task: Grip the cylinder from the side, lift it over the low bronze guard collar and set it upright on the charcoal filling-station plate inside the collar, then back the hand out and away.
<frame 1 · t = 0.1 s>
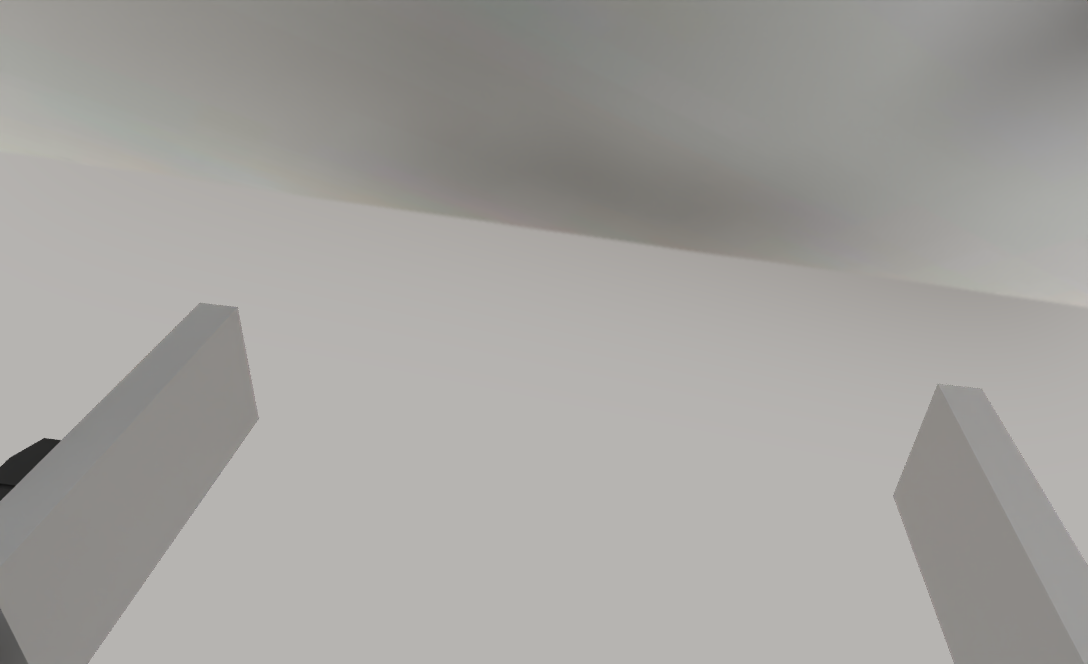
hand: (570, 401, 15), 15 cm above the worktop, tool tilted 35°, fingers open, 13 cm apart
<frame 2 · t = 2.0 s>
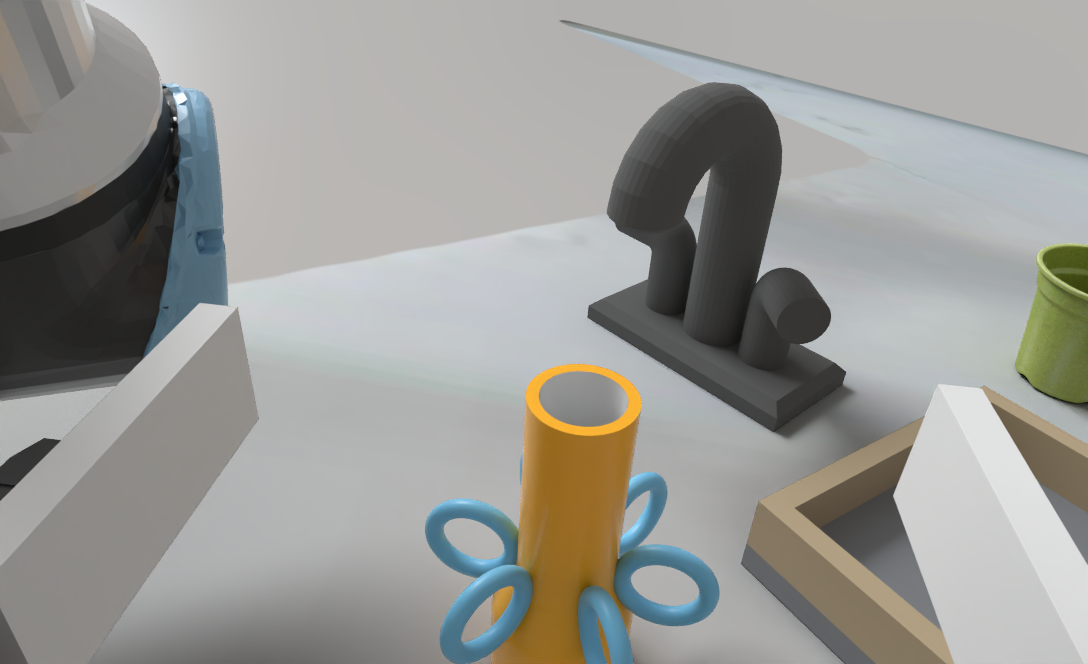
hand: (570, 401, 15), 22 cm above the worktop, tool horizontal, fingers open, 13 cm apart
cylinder: (556, 661, 35), on the worktop
plant pot: (1060, 382, 56), on the worktop
faucet: (674, 369, 55), on the worktop
fill station: (1023, 620, 38), on the worktop
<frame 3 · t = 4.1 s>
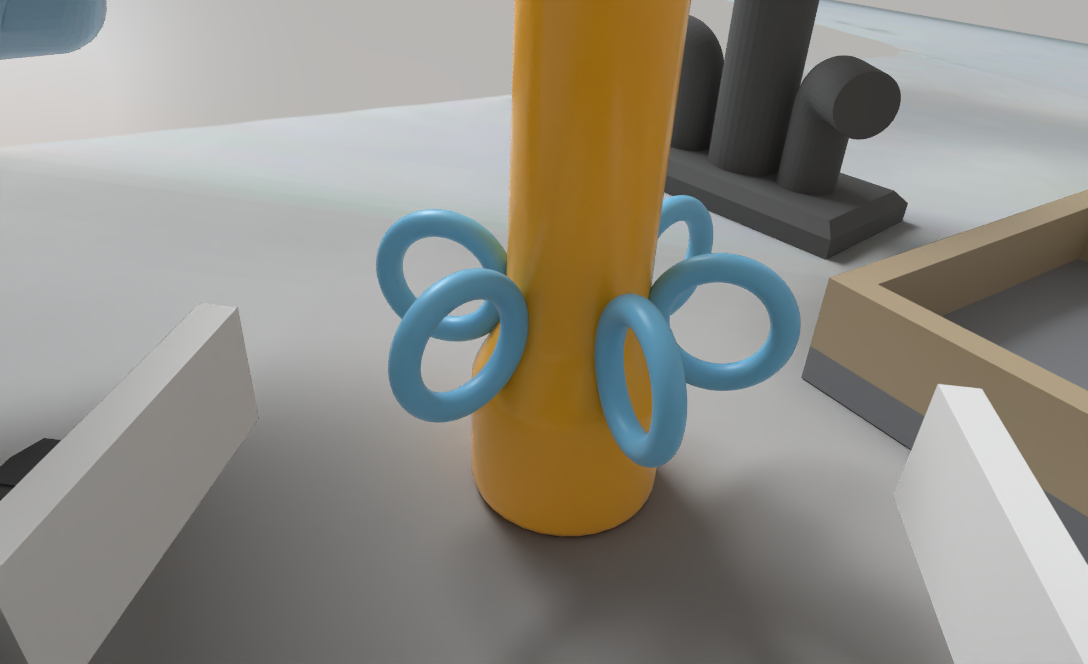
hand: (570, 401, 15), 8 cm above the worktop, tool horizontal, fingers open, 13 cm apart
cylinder: (562, 475, 26), on the worktop
faucet: (698, 206, 46), on the worktop
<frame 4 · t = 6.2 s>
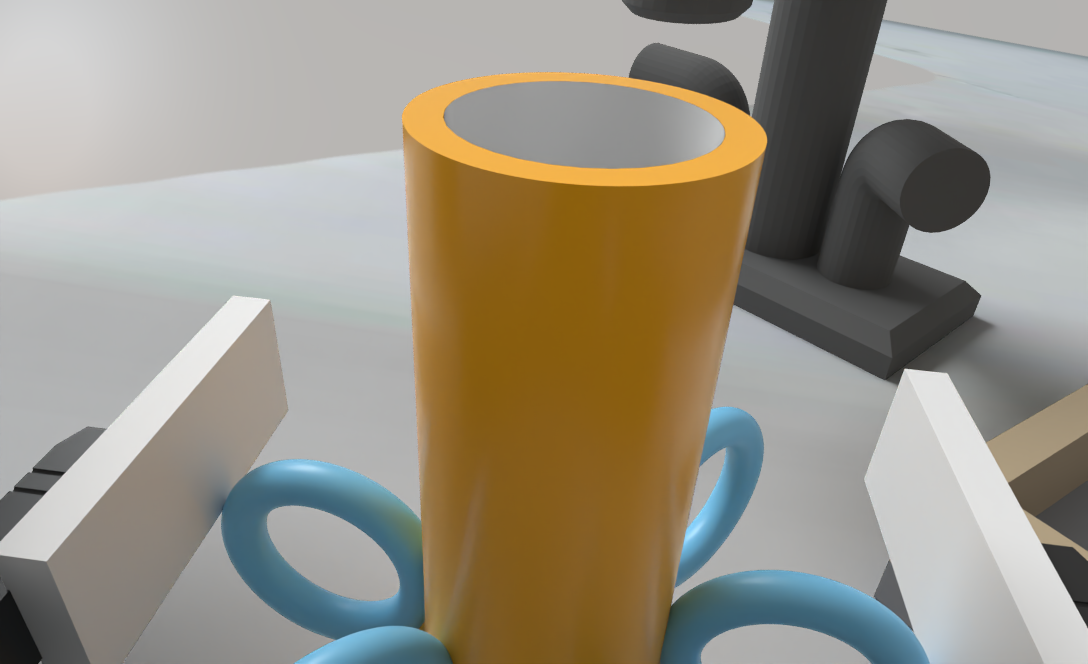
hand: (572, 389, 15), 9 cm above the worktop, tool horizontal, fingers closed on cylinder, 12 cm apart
faucet: (718, 295, 37), on the worktop
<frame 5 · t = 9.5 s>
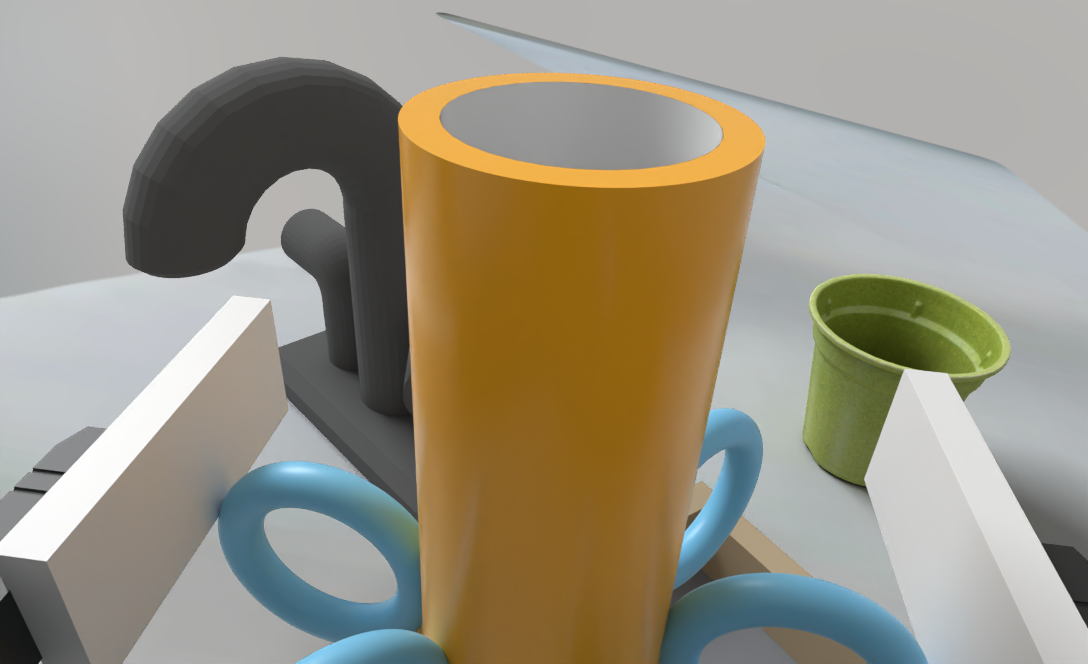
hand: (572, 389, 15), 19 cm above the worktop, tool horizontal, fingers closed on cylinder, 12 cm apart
plant pot: (858, 454, 43), on the worktop
faucet: (342, 445, 41), on the worktop
when the fingers open (11 cm above the worktop, at t = 12.6 s): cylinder drops 1 cm, resting on fill station.
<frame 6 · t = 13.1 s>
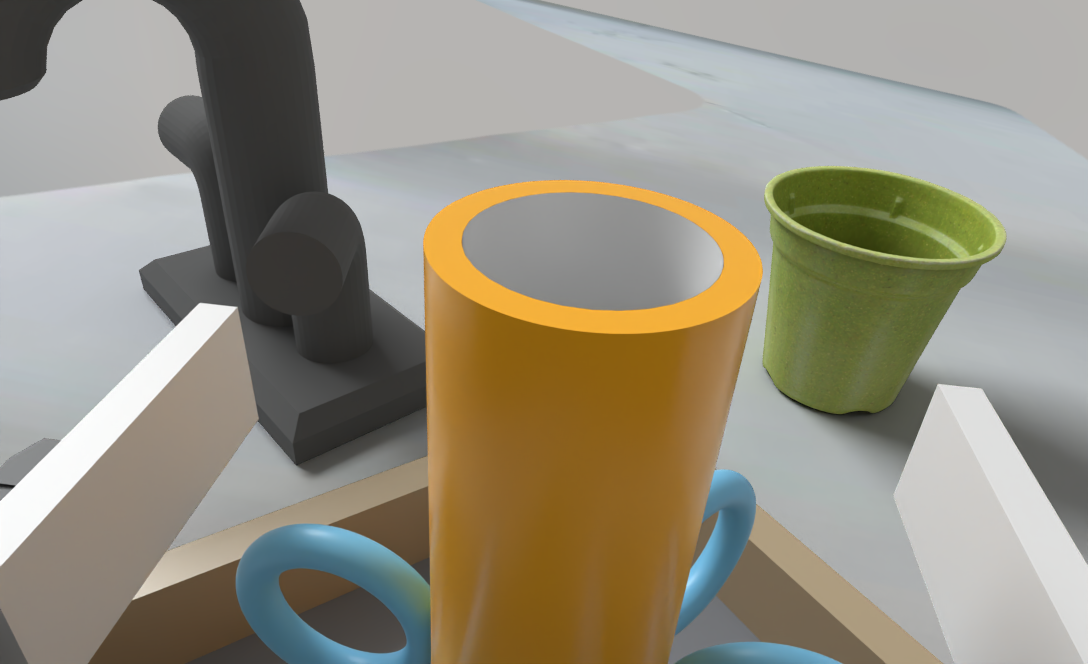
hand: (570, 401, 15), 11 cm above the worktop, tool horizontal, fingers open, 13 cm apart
plant pot: (828, 381, 36), on the worktop
faucet: (218, 363, 35), on the worktop
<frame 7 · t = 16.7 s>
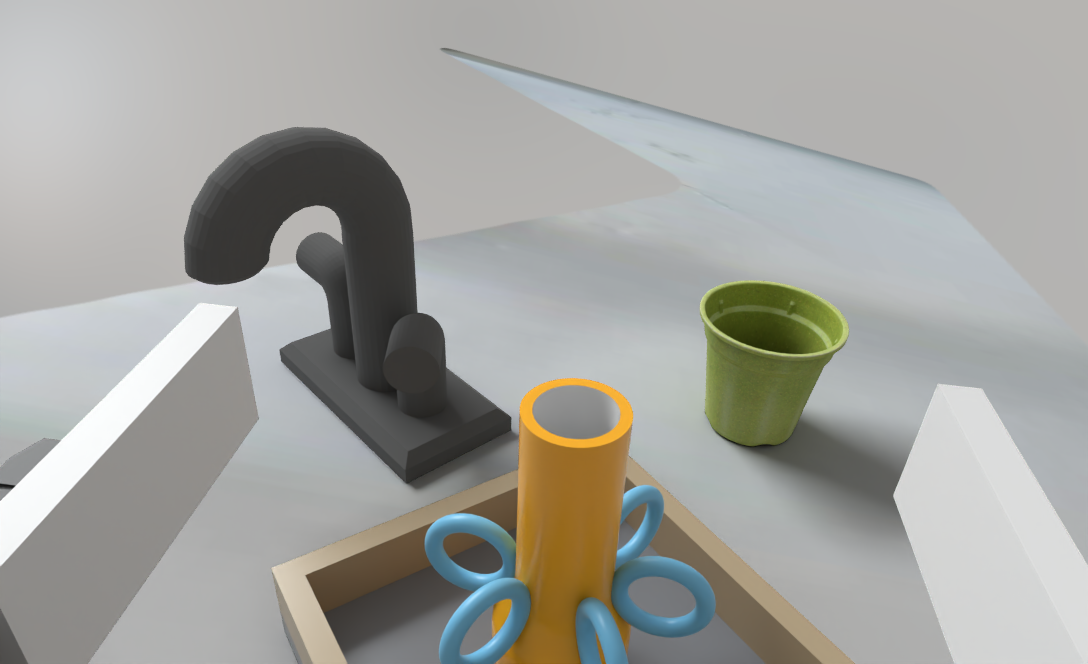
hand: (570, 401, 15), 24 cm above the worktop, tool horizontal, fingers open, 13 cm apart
plant pot: (749, 423, 54), on the worktop
faucet: (343, 415, 53), on the worktop
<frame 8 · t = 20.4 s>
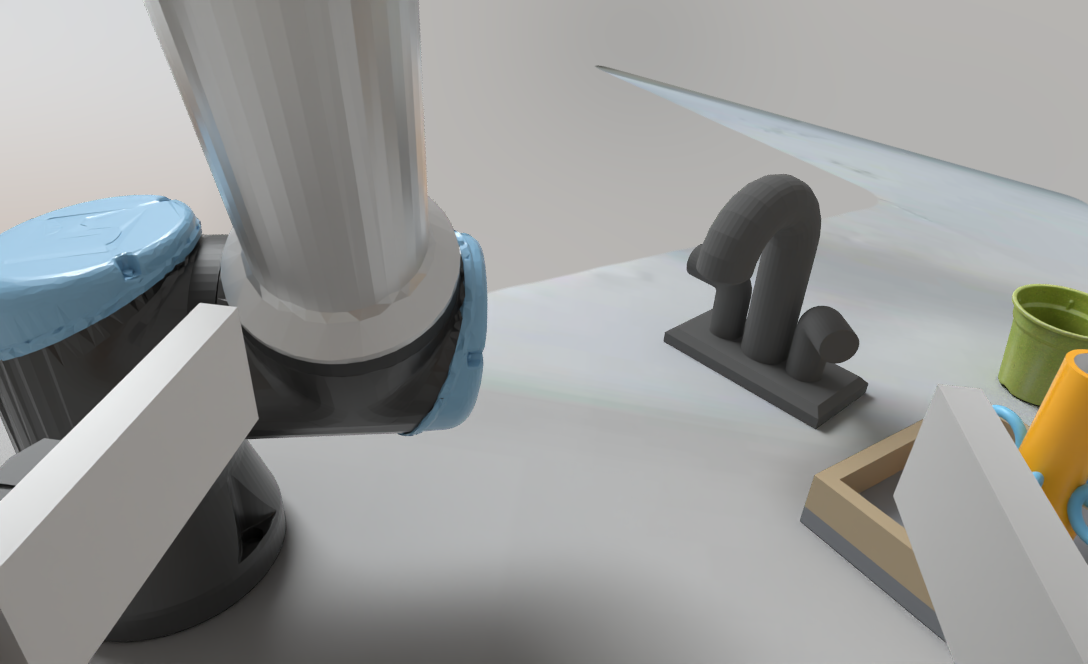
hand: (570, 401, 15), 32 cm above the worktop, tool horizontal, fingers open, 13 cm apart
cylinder: (1007, 546, 54), point 1 cm above the worktop, touching fill station
plant pot: (1032, 390, 73), on the worktop
faucet: (735, 381, 72), on the worktop
fill station: (999, 557, 55), on the worktop
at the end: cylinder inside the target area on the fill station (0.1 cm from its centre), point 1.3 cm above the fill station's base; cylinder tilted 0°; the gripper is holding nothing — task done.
